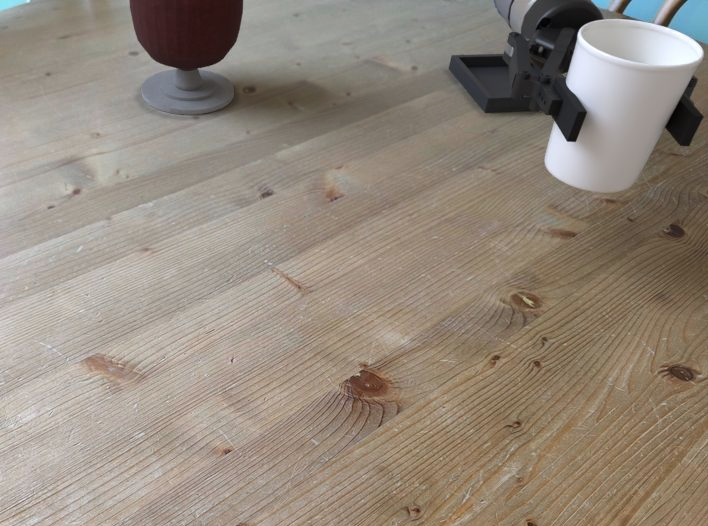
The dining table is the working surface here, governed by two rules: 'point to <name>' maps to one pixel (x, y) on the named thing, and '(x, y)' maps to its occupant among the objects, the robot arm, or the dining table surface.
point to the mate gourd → (187, 51)
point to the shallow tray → (489, 81)
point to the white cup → (621, 100)
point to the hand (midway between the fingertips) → (634, 129)
